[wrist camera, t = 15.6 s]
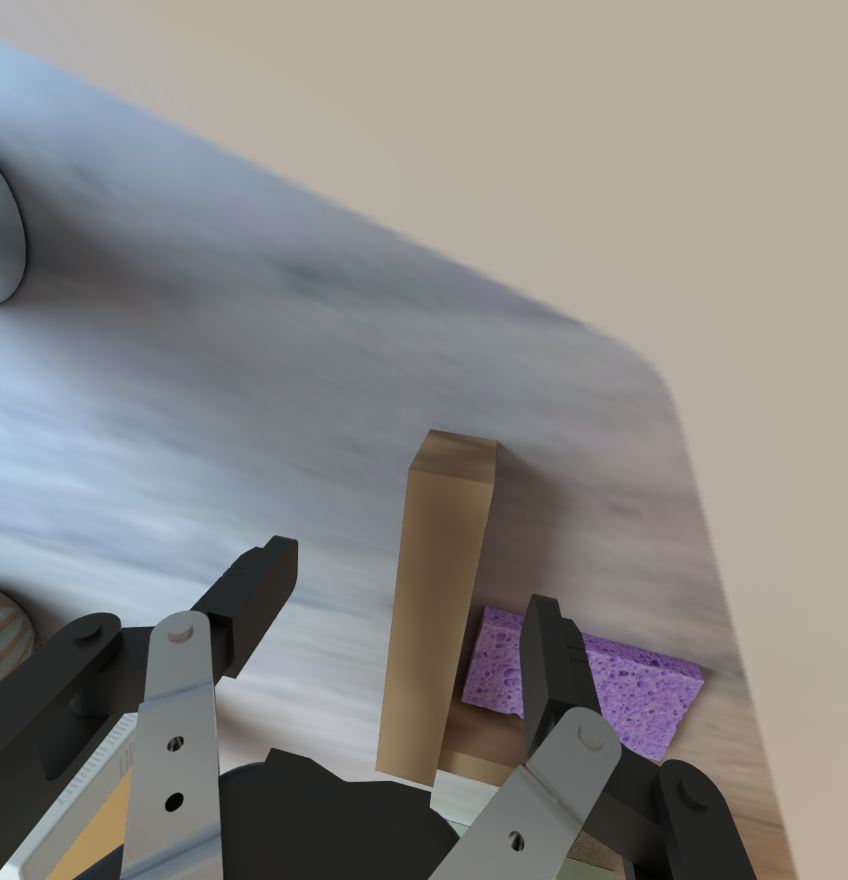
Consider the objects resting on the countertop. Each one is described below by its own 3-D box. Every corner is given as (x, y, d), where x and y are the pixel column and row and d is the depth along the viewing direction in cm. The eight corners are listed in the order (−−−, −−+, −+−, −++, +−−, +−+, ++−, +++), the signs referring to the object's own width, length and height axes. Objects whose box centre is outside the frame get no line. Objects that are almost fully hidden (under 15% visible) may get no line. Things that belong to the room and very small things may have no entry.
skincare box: (118, 679, 34) (-64, 864, 23) (116, 645, 33) (-81, 826, 22) (182, 705, 34) (27, 906, 23) (184, 672, 32) (18, 871, 21)
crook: (396, 692, 29) (375, 770, 24) (430, 429, 21) (408, 468, 17) (593, 745, 27) (611, 840, 22) (706, 477, 19) (768, 537, 15)
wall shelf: (420, 826, 34) (392, 1002, 25) (447, 695, 28) (423, 869, 19) (606, 885, 32) (642, 1096, 23) (680, 757, 26) (762, 981, 17)
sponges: (484, 598, 25) (483, 622, 23) (698, 657, 24) (713, 686, 22) (461, 677, 28) (458, 703, 26) (652, 734, 26) (662, 765, 24)
